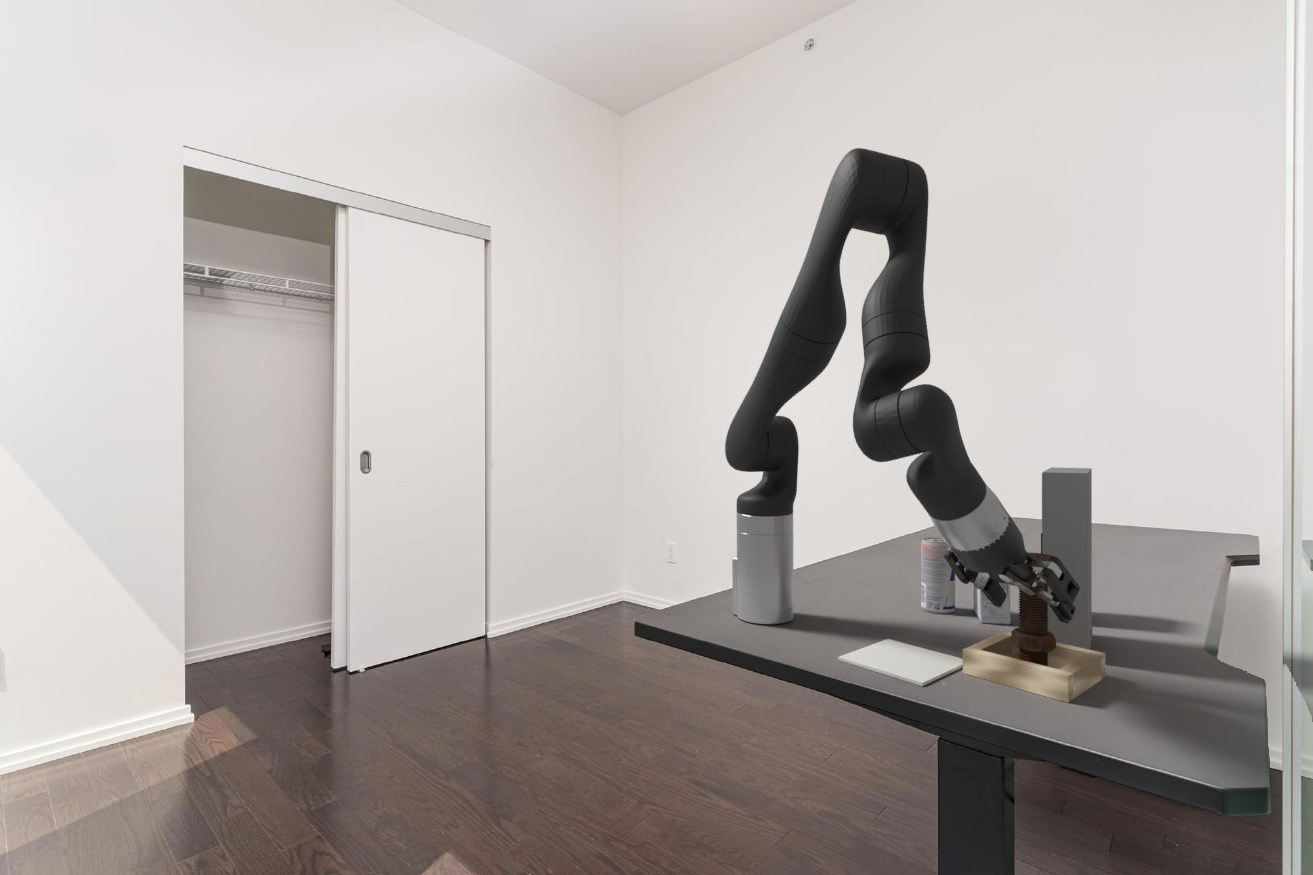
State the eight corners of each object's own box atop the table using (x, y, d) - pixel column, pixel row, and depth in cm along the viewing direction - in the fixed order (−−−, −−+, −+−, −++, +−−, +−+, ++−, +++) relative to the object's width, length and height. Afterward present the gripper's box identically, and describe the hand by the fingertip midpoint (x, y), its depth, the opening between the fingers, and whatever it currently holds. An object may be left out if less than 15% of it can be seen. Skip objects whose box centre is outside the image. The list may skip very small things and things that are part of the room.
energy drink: (957, 608, 114) (957, 538, 114) (952, 615, 110) (952, 543, 110) (924, 604, 117) (924, 536, 117) (918, 611, 113) (918, 540, 113)
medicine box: (1010, 625, 104) (1010, 570, 104) (979, 623, 106) (979, 569, 106) (1002, 612, 112) (1002, 561, 112) (972, 610, 113) (972, 559, 113)
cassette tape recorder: (1044, 629, 102) (1044, 467, 102) (1092, 636, 99) (1092, 468, 98) (1035, 654, 91) (1035, 472, 91) (1088, 663, 87) (1088, 473, 87)
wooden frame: (962, 672, 84) (962, 649, 84) (1004, 652, 92) (1004, 630, 92) (1068, 702, 75) (1068, 676, 75) (1105, 677, 82) (1105, 653, 82)
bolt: (1064, 685, 80) (1064, 560, 80) (1019, 682, 81) (1019, 559, 81) (1046, 668, 86) (1046, 552, 85) (1004, 665, 87) (1004, 550, 86)
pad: (838, 659, 89) (838, 656, 89) (887, 641, 97) (887, 638, 97) (922, 686, 80) (922, 682, 80) (969, 663, 87) (969, 660, 87)
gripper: (1048, 505, 72) (1106, 597, 78) (936, 495, 85) (993, 574, 90) (1018, 558, 70) (1080, 649, 75) (908, 540, 82) (968, 619, 88)
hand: (1033, 608), depth 83 cm, fingers open, 8 cm apart
